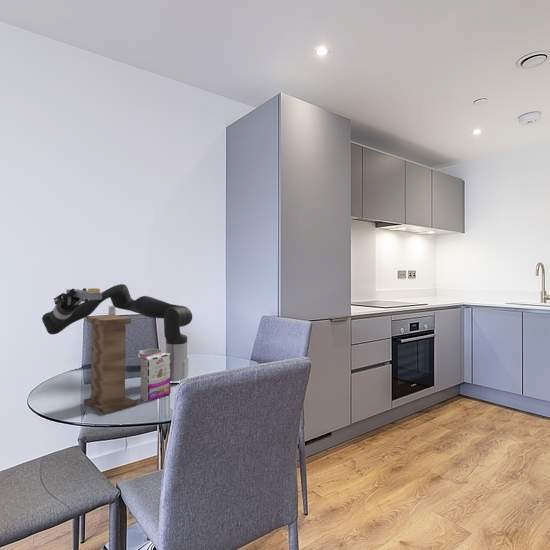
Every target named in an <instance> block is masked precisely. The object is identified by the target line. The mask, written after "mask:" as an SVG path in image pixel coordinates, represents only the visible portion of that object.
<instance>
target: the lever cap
mask: <svg viewBox="0 0 550 550" xmlns="http://www.w3.org/2000/svg"><path fill="white" fill-rule="evenodd" d="M74 289H75V288H74ZM100 289H101V288H98V287H95V288H89V287H88V288H87V291H85V290H83V289H77V288H76V289H75V294H74V295H73V296H72V297H78V298H83V299H88V300H99V299H102V292H101V290H100ZM70 290H71V288H70V289H69V288H68V289H66V293H65V294H67V292H69V291H70Z"/></svg>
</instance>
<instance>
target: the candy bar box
mask: <svg viewBox="0 0 550 550" xmlns="http://www.w3.org/2000/svg"><path fill="white" fill-rule="evenodd" d="M170 378H171V377H170V354H169V353H166V352H165V351H164V352H162V353H158V354H154V355H150V356H146V357H142V358H141V364H140V400H141V399H142V400H141V401H143V400H145V401H144V402H147V401H150V402H152V400H153V401H155V399H156V400H158V399H160V397H161V398H164V397H166V396H169V395H171V394H170V393H171V392H172V391H171V388H172V387H171V384H170ZM168 394H169V395H168ZM165 395H166V396H165ZM163 396H164V397H163ZM157 398H158V399H157Z"/></svg>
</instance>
